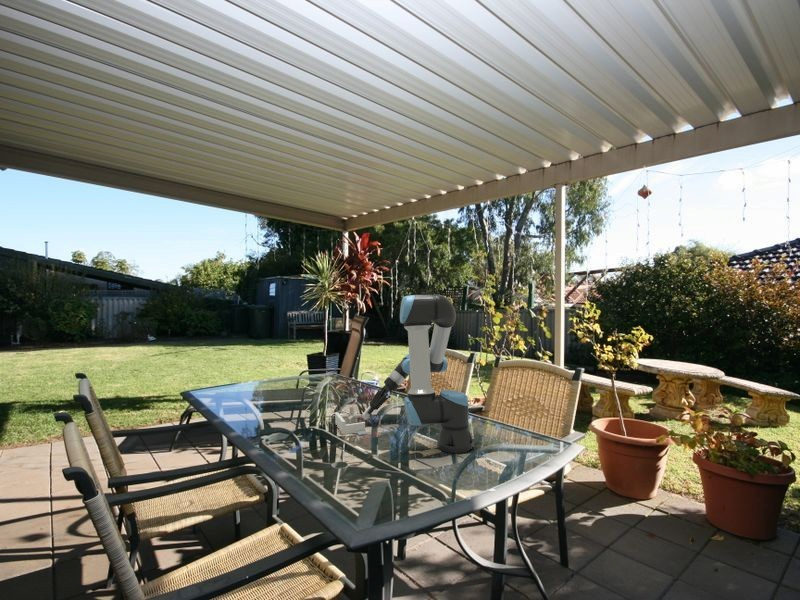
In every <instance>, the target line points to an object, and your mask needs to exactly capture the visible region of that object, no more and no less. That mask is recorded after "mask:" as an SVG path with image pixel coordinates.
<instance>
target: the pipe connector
mask: <svg viewBox="0 0 800 600" xmlns="http://www.w3.org/2000/svg"><path fill="white" fill-rule="evenodd" d="M348 409H349V413H350V414H343V415H342V416H343V419H344V418H347V419H346V420H347V422H349V421H351V422H352V423H351V424H353V423H356V422H355V418H357V419H363V418H362V414H363V413H359V411H357V410H356V411H355V412H354V406H353V405H350V406H348Z"/></svg>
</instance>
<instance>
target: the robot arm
mask: <svg viewBox="0 0 800 600" xmlns="http://www.w3.org/2000/svg"><path fill="white" fill-rule="evenodd" d="M456 318H457V313H456V308H455V306H454V305H453V303H452V301H451V300H449V299H448V297H446V296H444V295H442V294H436V293H435V294H411V295H405V296H404V297H403V298H402V300H401V303H400V309H399V322H400V324H403V328H404V329H405V330H406V331H407V337H408V339H407V341H408V353H407V354H406V355H405V356H404V357H403V358H402V360H401V361H400V362H399V363H398V364H397V366H396V367H395V368H394V369H393V370H392V371H391V372H390V374H389V375H388V377H386V379H384V380H383V383H384V384H385V385H383V386H382V387H379V388H378V389H377V391H376V393H375V395H373V397H372V399H371V400H370V401H369V406H368V407H367V408H366V409H365V410H364V412H363V413H361V414H362V418H361V419H363V420H364V421H367V420H368V419H369V417H370V416H371V415H372V414H373V413H374V411H377V410H379V409H380V408H381V406H383V404H385V403H386V402H387V400H389V399H390V398H391V393H392V392H396V391H398V389H399V387H400V386H401V385H402V384H403V383H404V382H405V380H406V379H407V378H408V376H410V378H409V379H410V389H409V390H408V391H407V396H405V397H404V398H403V405H404V411H405V415H406V418H407V422H408V424H409V425H411V426H421V427H422V426H427V425H440V431H439V434H438V438H437V440H436V441H437V442H436V443H437V449H439V450H440V451H442V452H446V453H451V454H462V453H467V451H468V452H470V451H471V450H470V449H471V448H472V447H473V448H474V440H473V437H472V434H471V431H470V427H469V426H470V425H469V423H470V422H469V406H470V405H469V404H470V403H469V397H468V395H467V394H466V393H464V392H462V391H458V390H454V389H443V390H440V392H439V394H436V390H435V389H434V388H433V387H432V377H431V375H432V373H433V374H435V373H437V374H438V373H442V372H446V371H447V370H448V360H447V357H445V356H446V351H447V347H448V342H449V340H450V339H449V338H450V335H451V330H452V327H453V326H454V325H455V322H456ZM432 322H433V323H434V326H433V331H432V336H431V342H429V341H430V339H429V330H430V328H431V327H432ZM469 450H470V451H469Z"/></svg>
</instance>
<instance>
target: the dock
mask: <svg viewBox="0 0 800 600" xmlns="http://www.w3.org/2000/svg"><path fill="white" fill-rule="evenodd" d="M334 414H335V415H334V416H335V418H334V419H335V426H336V425H337V426H336V427H337V429H338V428H339V429H338V430H339V432H340V431H341V432H340V433H341V435H348V434H357V435H358V437H359V436H360V437H361V436H366V435H368V432H367V431H366V422H365V421H360V422H358V421H359V420H358V418H355V423H353V424H352V422H351V421H349V422H347V420H346V419H347V418H344V419H343V415H341V414H340V413H339V411H336V412H334Z"/></svg>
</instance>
